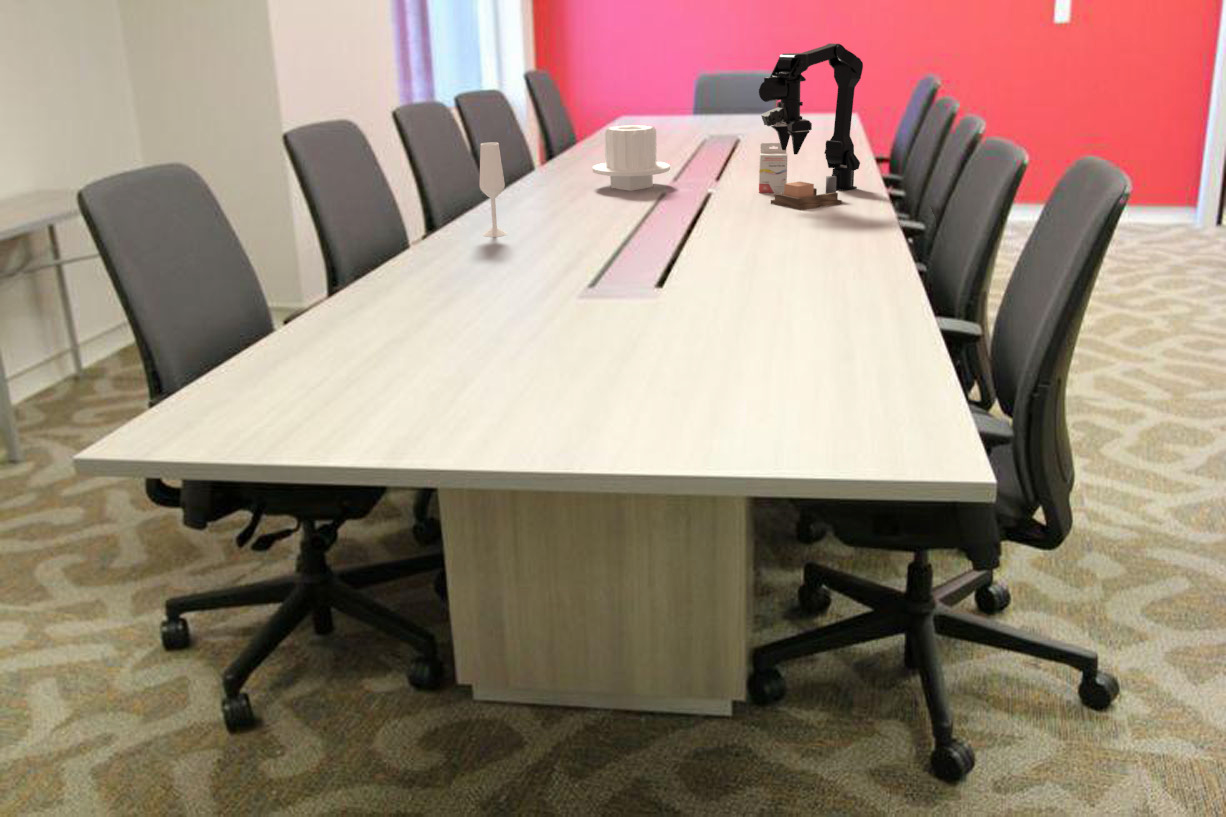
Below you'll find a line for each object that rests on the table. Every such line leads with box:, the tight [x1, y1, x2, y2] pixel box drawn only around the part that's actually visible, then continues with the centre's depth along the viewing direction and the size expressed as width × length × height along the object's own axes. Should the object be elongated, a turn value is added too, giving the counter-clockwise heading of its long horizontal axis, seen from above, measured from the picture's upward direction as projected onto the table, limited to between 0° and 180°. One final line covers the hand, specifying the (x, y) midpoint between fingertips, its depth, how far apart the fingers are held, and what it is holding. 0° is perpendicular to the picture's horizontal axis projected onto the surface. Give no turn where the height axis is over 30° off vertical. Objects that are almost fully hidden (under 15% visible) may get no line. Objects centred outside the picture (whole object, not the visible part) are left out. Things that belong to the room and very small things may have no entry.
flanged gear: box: [592, 124, 671, 192], centre depth 377 cm, size 25×25×19 cm
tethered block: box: [784, 175, 837, 198], centre depth 346 cm, size 17×6×6 cm, turn 122°
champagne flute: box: [479, 141, 508, 238], centre depth 312 cm, size 7×7×24 cm
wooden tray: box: [770, 187, 843, 211], centre depth 345 cm, size 15×14×3 cm
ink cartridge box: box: [758, 142, 788, 194], centre depth 364 cm, size 9×5×15 cm, turn 84°
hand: (789, 152), depth 349 cm, fingers open, 9 cm apart
